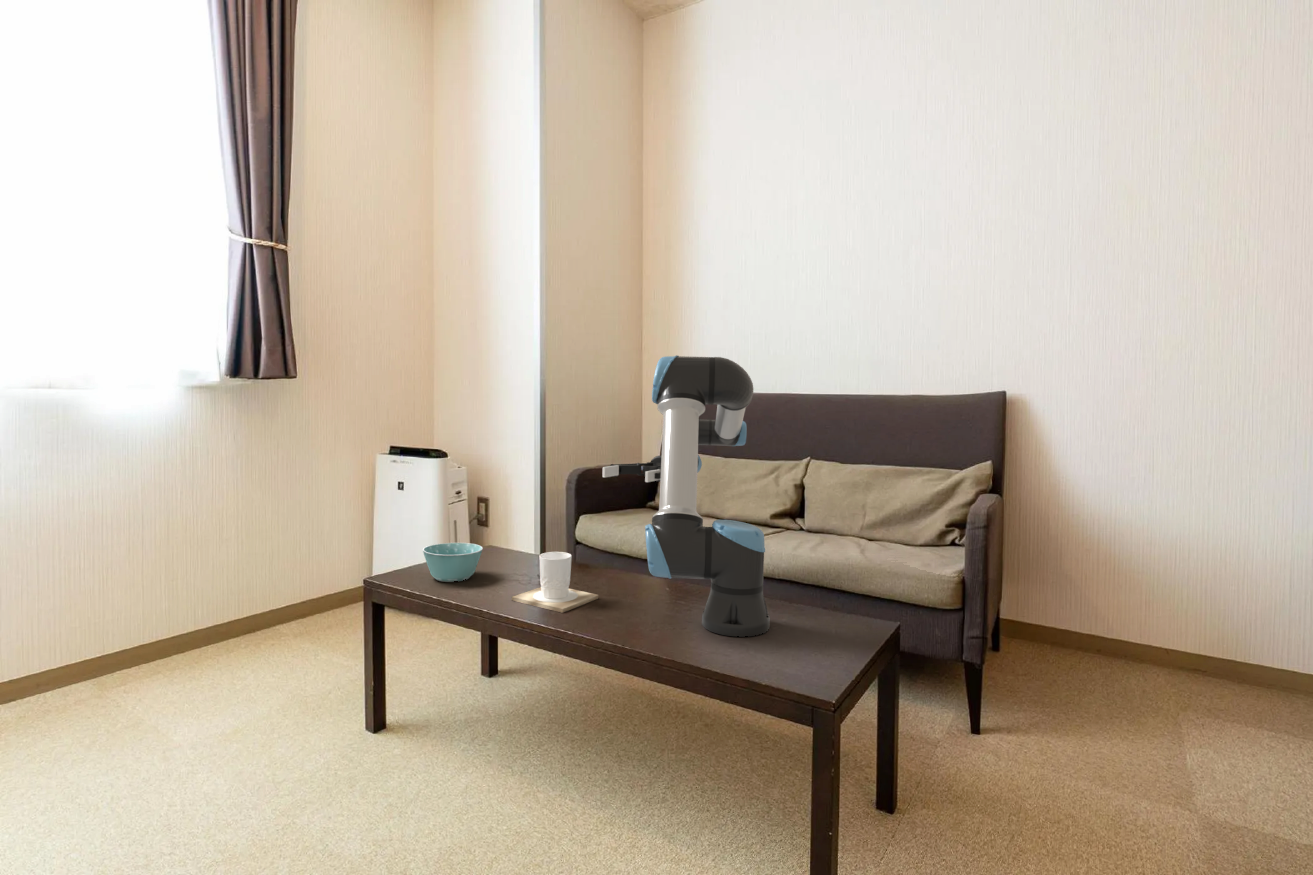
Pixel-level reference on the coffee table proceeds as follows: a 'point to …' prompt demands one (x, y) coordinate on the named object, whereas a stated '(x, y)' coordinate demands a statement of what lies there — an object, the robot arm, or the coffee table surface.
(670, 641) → the coffee table surface
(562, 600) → the coaster board
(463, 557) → the bowl
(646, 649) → the coffee table surface
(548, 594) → the white cup
